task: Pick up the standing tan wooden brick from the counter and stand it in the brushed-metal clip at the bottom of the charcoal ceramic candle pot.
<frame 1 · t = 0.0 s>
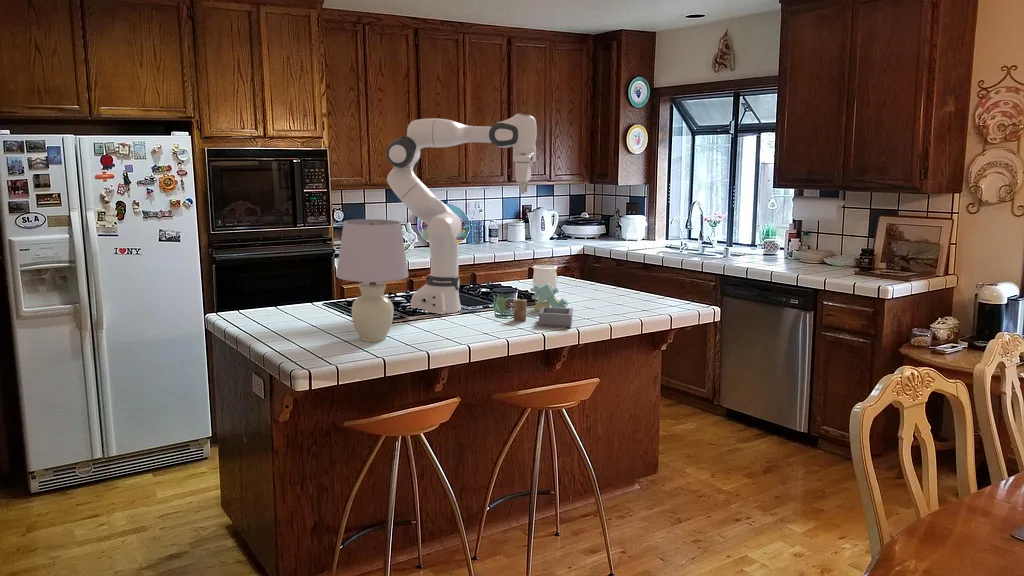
hand: (523, 193, 302), 48 cm above the counter, tool pointing down, fingers open, 8 cm apart
lamp: (372, 339, 266), on the counter
tan wooden brick: (519, 320, 300), on the counter
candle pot: (555, 323, 297), on the counter
jar: (544, 300, 340), on the counter
toy: (549, 311, 320), on the counter
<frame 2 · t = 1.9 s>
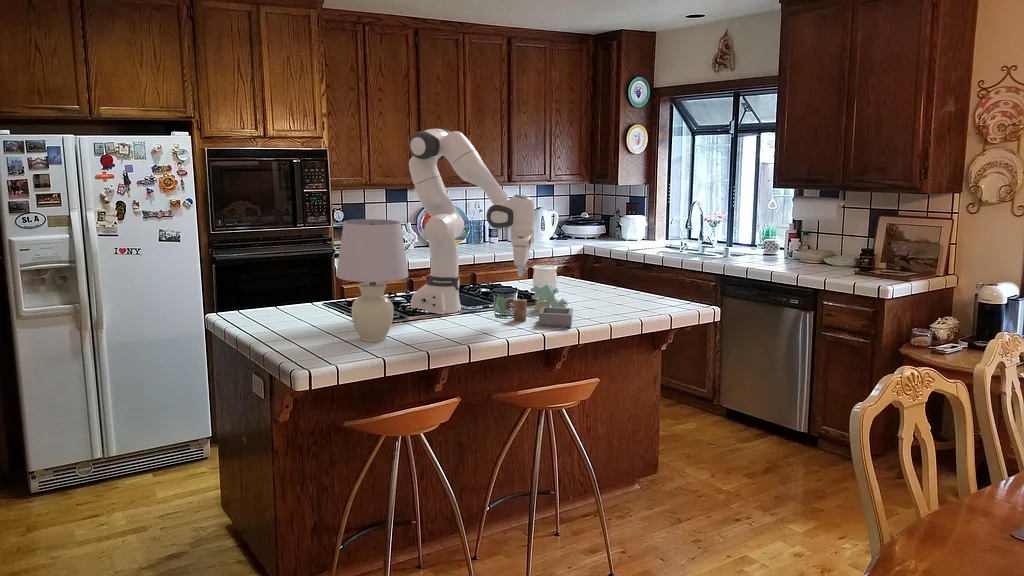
hand: (521, 274, 297), 18 cm above the counter, tool pointing down, fingers open, 8 cm apart
nothing on the counter moved.
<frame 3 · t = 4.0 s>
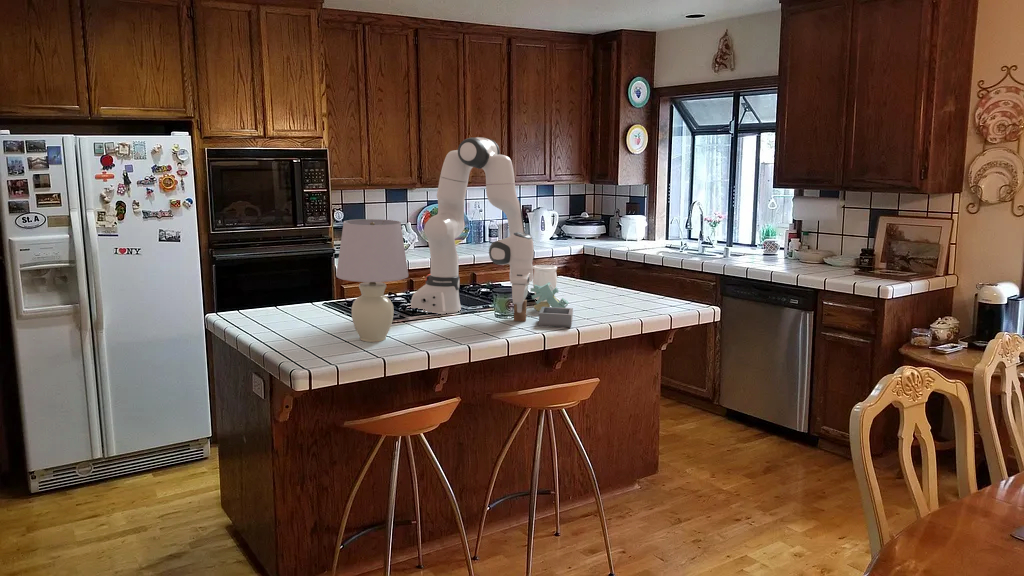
hand: (520, 311, 300), 4 cm above the counter, tool pointing down, fingers closed on tan wooden brick, 2 cm apart
tan wooden brick: (519, 320, 300), on the counter, touching gripper
everything else where it was.
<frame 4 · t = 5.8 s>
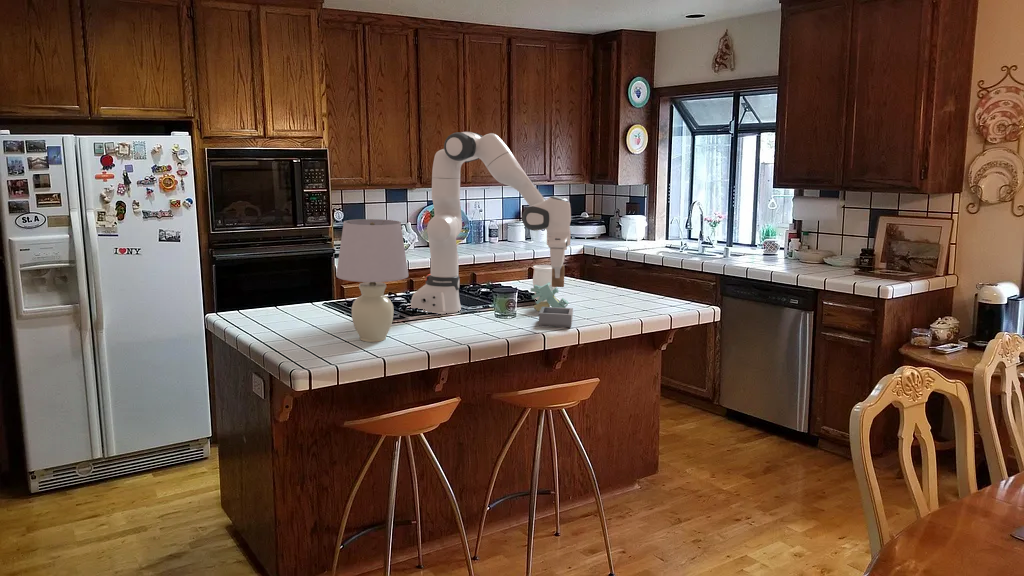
hand: (557, 277, 293), 18 cm above the counter, tool pointing down, fingers closed on tan wooden brick, 2 cm apart
tan wooden brick: (557, 286, 294), point 14 cm above the counter, touching gripper
everything else where it was.
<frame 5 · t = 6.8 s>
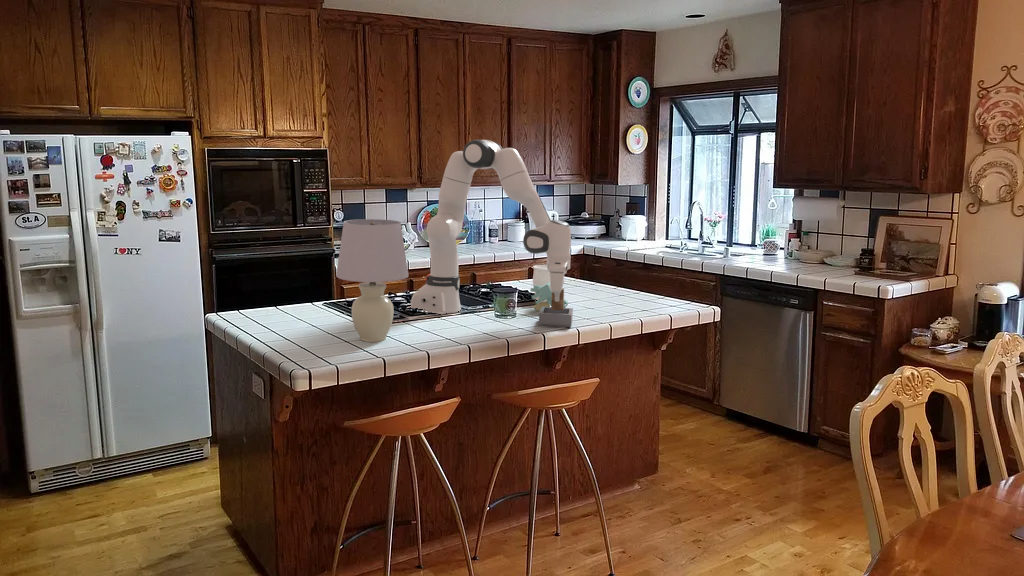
hand: (557, 300, 295), 9 cm above the counter, tool pointing down, fingers closed on tan wooden brick, 2 cm apart
tan wooden brick: (557, 309, 296), point 5 cm above the counter, touching gripper
everything else where it was.
when the fingers open (6 cm above the counter, at t = 7.6 s): tan wooden brick drops 2 cm, resting on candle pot.
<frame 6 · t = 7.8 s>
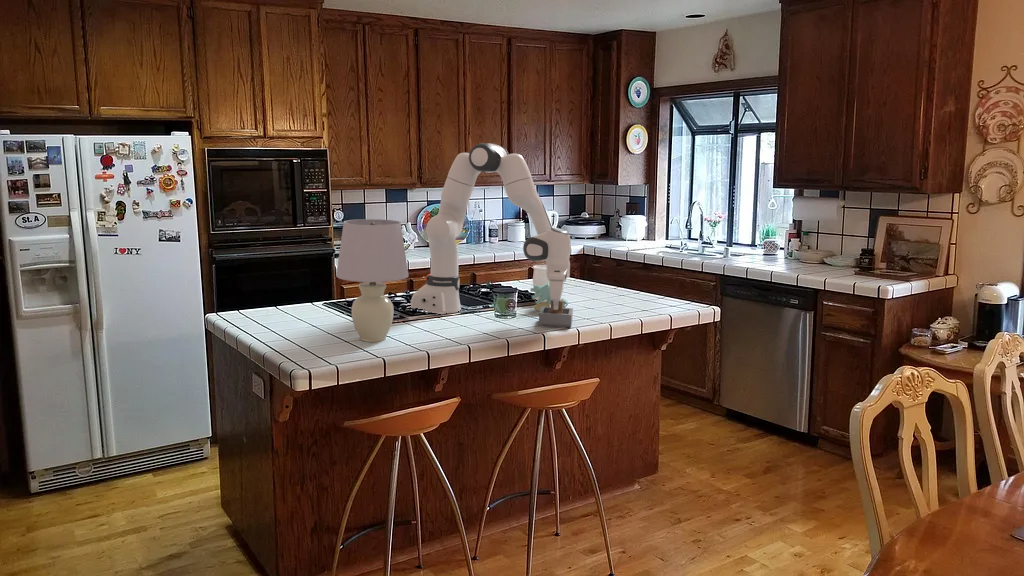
hand: (556, 307, 296), 6 cm above the counter, tool pointing down, fingers open, 5 cm apart
tan wooden brick: (556, 321, 297), point 1 cm above the counter, touching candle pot
everything else where it was.
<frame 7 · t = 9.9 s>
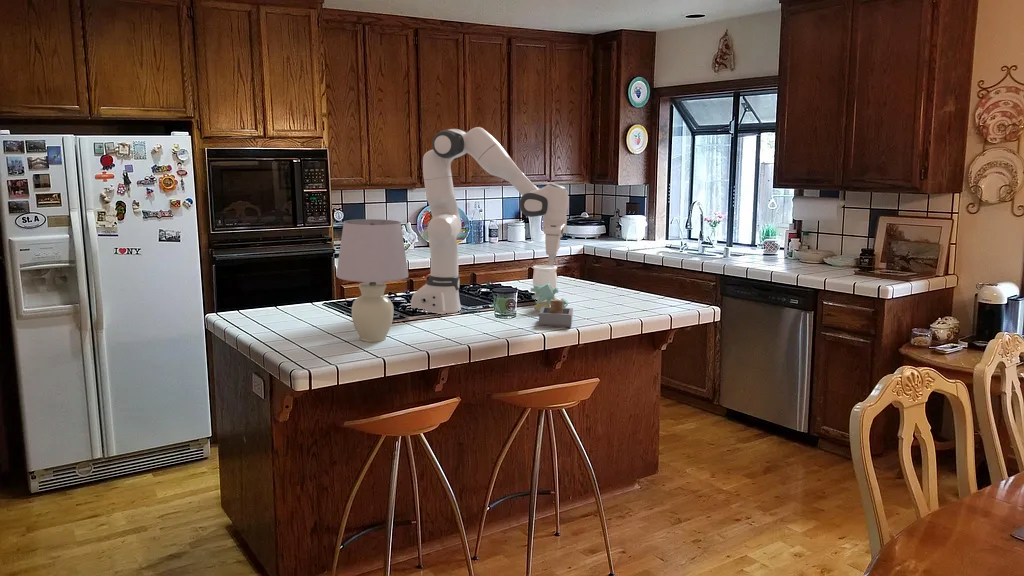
hand: (552, 263, 297), 22 cm above the counter, tool pointing down, fingers open, 8 cm apart
nothing on the counter moved.
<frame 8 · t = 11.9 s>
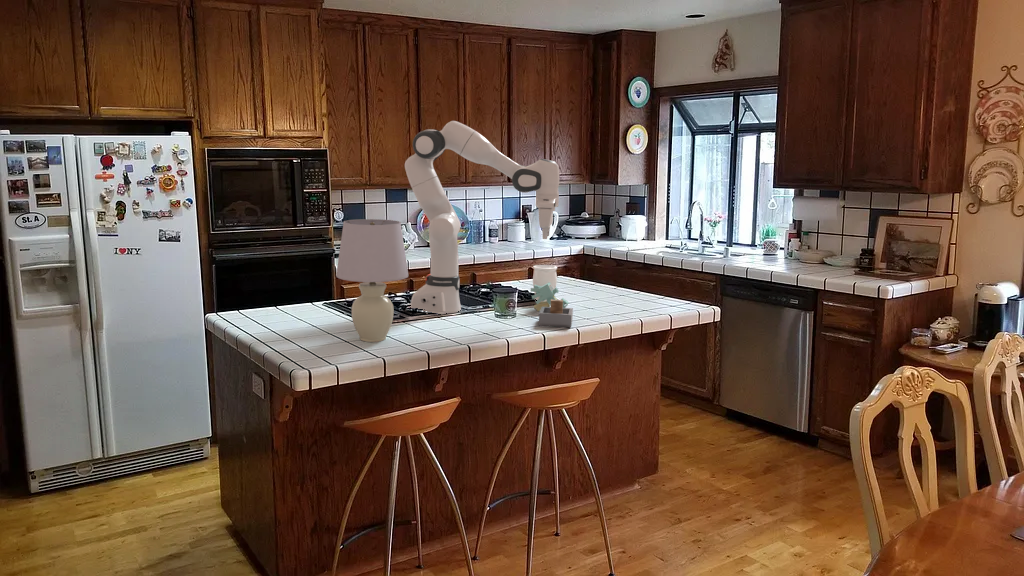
hand: (545, 237, 304), 31 cm above the counter, tool pointing down, fingers open, 8 cm apart
nothing on the counter moved.
at the end: tan wooden brick 0.0 cm off-centre on the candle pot, point 1.0 cm above the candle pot's base; tan wooden brick tilted 0°; the gripper is holding nothing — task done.
